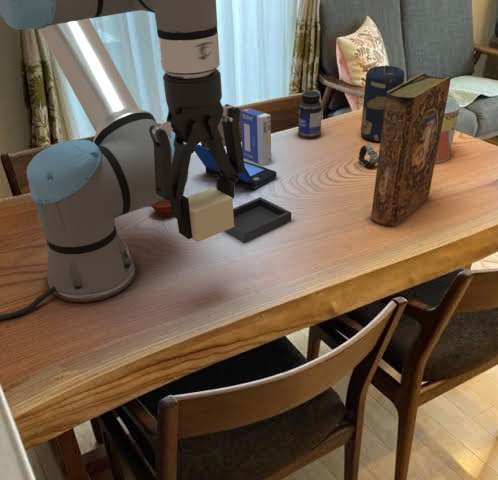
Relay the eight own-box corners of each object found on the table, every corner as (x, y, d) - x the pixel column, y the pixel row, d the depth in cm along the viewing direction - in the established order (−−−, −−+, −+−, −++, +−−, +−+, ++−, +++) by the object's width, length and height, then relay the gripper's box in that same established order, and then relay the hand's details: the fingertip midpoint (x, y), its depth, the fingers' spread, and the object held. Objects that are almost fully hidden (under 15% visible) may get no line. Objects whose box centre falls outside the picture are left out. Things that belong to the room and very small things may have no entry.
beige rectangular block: (197, 242, 81) (194, 212, 78) (179, 230, 84) (175, 201, 81) (234, 226, 84) (232, 197, 81) (215, 215, 88) (213, 187, 84)
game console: (279, 177, 127) (279, 139, 121) (240, 198, 120) (238, 158, 114) (231, 161, 136) (229, 124, 130) (192, 179, 128) (188, 141, 122)
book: (392, 229, 107) (411, 99, 91) (367, 221, 110) (382, 93, 94) (428, 198, 117) (451, 76, 101) (405, 191, 120) (424, 71, 104)
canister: (401, 134, 146) (411, 62, 135) (388, 146, 140) (398, 72, 128) (368, 128, 150) (375, 58, 139) (354, 139, 144) (360, 67, 133)
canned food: (447, 166, 129) (457, 115, 122) (399, 160, 133) (407, 111, 125) (451, 148, 137) (462, 100, 130) (406, 143, 141) (414, 96, 133)
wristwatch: (361, 171, 132) (372, 161, 127) (355, 152, 132) (366, 142, 128) (371, 170, 133) (383, 160, 128) (365, 151, 133) (376, 140, 129)
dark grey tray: (244, 243, 105) (244, 234, 104) (214, 225, 111) (214, 216, 110) (291, 220, 111) (291, 212, 110) (260, 205, 117) (260, 196, 116)
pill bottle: (294, 133, 149) (295, 92, 142) (313, 129, 151) (315, 88, 144) (304, 141, 144) (306, 98, 137) (324, 137, 146) (327, 94, 139)
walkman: (242, 157, 138) (240, 109, 130) (250, 153, 139) (248, 106, 131) (263, 165, 133) (262, 116, 125) (271, 162, 134) (271, 113, 127)
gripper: (138, 93, 63) (164, 259, 77) (268, 60, 72) (270, 214, 87) (108, 80, 67) (138, 239, 82) (234, 51, 77) (241, 198, 91)
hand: (206, 226), depth 84 cm, fingers closed on beige rectangular block, 7 cm apart
